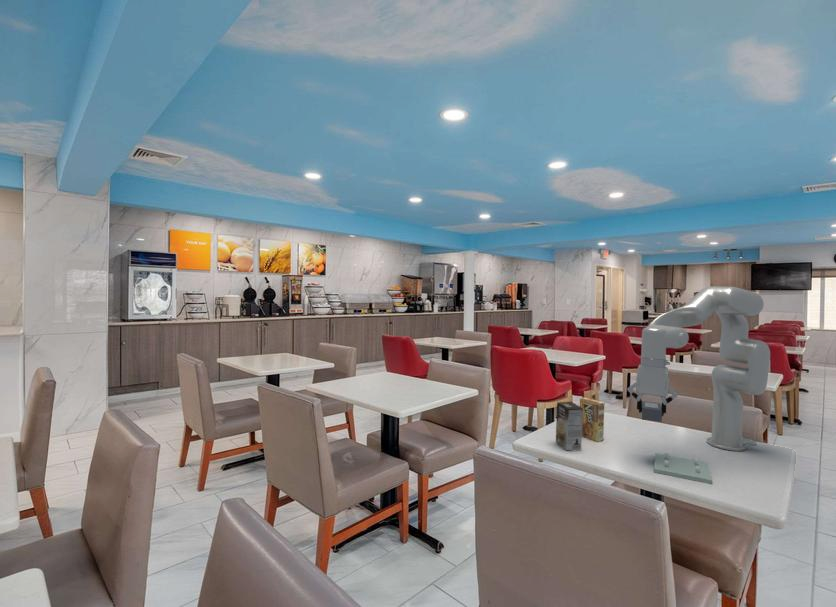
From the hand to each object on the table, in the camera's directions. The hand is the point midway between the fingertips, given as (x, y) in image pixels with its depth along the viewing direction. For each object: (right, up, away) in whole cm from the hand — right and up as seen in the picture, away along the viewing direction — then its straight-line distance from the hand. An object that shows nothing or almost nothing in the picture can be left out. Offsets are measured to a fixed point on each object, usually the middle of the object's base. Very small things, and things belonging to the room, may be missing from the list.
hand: (651, 412), depth 153 cm
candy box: (-12, -16, +23) cm, 31 cm away
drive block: (0, -1, 0) cm, 1 cm away
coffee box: (-25, -16, +13) cm, 32 cm away
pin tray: (+7, -18, -6) cm, 20 cm away
